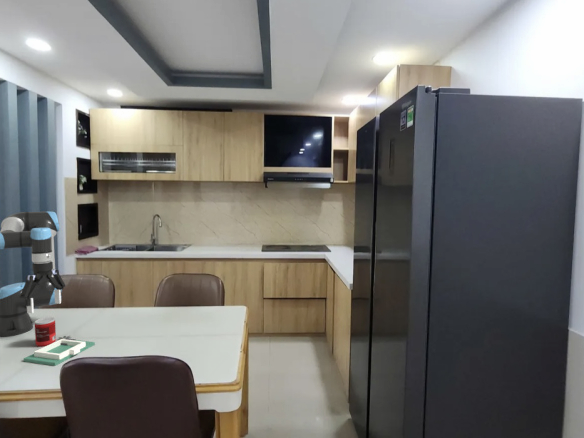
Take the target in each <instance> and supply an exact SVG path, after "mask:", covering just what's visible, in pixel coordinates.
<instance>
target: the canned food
mask: <svg viewBox="0 0 584 438" xmlns="http://www.w3.org/2000/svg"><path fill="white" fill-rule="evenodd" d="M56 329H57V328H56V318H55V317H52V316H49V317H48V316H47V317H41V318H39V319H36V320H35V321H34V336H35V337H34V338H35V346H36V347H38V348H39V347H40V348H43V347H45V346H47V345H50V344H52V343H54V342H56V341H57V334H56V332H57V331H56Z"/></svg>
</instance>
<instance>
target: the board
mask: <svg viewBox="0 0 584 438" xmlns="http://www.w3.org/2000/svg"><path fill="white" fill-rule="evenodd" d="M93 346H96V344H95V341H89V340H86V341H85V340H80V339H76V338H75V339H74V338H68V337H67V338H66V337H65V338H63V339H62V338H60V339H59V340H56V341H55V342H54V343H52V344H50V345H47V346H44V347H40V348H39V349H37V350H35V351H33V353H32V354H30V355H28V356H26V357H24V358H23V362H25V363H32V364H38V365H39V364H40V365H46V366H47V365H48V366H53V367H55V366H58V365H60V364H61V363H63V362H65V361H68V360H70V359H71V358H72V357H74V356H76V355H79V354H80V353H83V352H84V351H86V350H88V349H89V348H91V347H93Z"/></svg>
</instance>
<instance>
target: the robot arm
mask: <svg viewBox="0 0 584 438" xmlns="http://www.w3.org/2000/svg"><path fill="white" fill-rule="evenodd" d="M0 228H1V229H0V250H7V249H8V250H9V249H20V248H21V249H22V248H24V249H25V248H31V262H32V264H31V268H32V271H33V275H30V274H29V275H26V276H25V277H26V278H25V280H26V281H24V282H16V283H12V284H8V285H4V286H2V287H0V337H3V338H4V337H10V336H11V337H12V336H17V335H21V334H24V333H27V332H30V331H31V330H33V329H34V322H33V320H32V318H31V316H30V314H34V311H35V310H34V308H38V307H39V308H40V307H45V306H52V305H57V304H59V305H60V304H61V303H62V295H63V290H64V288H65V287H66V284H65V282H64V279H63V278H62V277H61V275H60V273H59V270H60V269H56V260H55V241H54V239H55V238H54V237H55V236H56V235H57V234H58V232H59V231H60V223H59V219H58V215H57V213H56V212H54V211H47V210H46V211H45V210H44V211H21V212H16V213H13V214H11V215H8V216H6V217H5V218H4V219H3V220H2V221H1V224H0Z"/></svg>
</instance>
